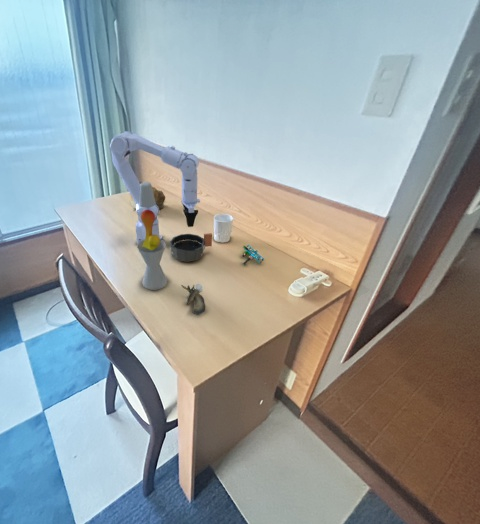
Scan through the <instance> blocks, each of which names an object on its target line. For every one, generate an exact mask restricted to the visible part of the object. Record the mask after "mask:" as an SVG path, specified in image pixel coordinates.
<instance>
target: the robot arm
mask: <svg viewBox="0 0 480 524" xmlns="http://www.w3.org/2000/svg"><path fill="white" fill-rule="evenodd" d="M108 148H109V150H110V151H111V160H112V165H113V166H114V168H115V170H116V172H117V173H118V175H119V177H120V178H121V180H122V182H123V184H124V186H125V188H126V189H127V191H128V193H130V194H131V196H132V198H133V200H134V201H135V203H136V209H135V212H136V214H137V219H138V221H136V224H135V234H136V235H135V236H136V245H138V243H139V242H141V241H143V240H145V238H146V229H145V226H144V224H143V222H142V220H141V214H142V212H143V211H145V210H151V211H152V212H153V213H154V214H155V220H154V223H153V227H152V234H153V235H157V236H158V237H159V239H161V240H162V239H163V236H162V235H160V225H159V218H158V216H159V214H160V209H159V208H158V206H157V205H155V206H152V207H147V208H146V207H141V206H139V198H140V183H139V181H140V180H139V179H138V177H137V175H136V174H135V172H134V170H133V167H132V166H131V164H130V162H129V159H130V157H131V156H130V155H131V152H134V151H138V150H141V151H143V152H145V153H149V154H151V155H153V156H156V157H159V158H160V160H161V161H162V163H163V164H166V165H168V166H171V167H174V168H176V169H177V170H180V172H181V205H182V206H183V209H182V212H183V214H184V216H185V219H186V224H187V227H188V228H193V227H194V226H195V220H196V218H197V216H198V214H199V209H195V207H196V206H197V204H199V203H201V200H200V198H198V167H199V164H200V162H199V161H200V160H199V158H198V156H196V155H195V154H194V153H188V152H187V151H184V152H183V151H181V150H179V149H176V146H174V145H171V146H170V145H168V146H166V147H163V146H161V145H159V144H157V143H156V142H153V141H150V140H149V139H147V138H145V137H143V136H141V135H140V134H138V133H135V132H132V131H129V130H125V131H123V132H122V133H120V134H116V135H114V136H113V137H112V138H111V140H110V144H109V147H108ZM130 194H129V195H130Z"/></svg>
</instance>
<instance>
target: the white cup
mask: <svg viewBox="0 0 480 524" xmlns="http://www.w3.org/2000/svg"><path fill="white" fill-rule="evenodd" d="M233 221H234V216H232V215H231V214H228V213H217V214H215V215H214V216H213V239H214V242H217V243H227V242H229V241H230V239H231V233H232V229H233V223H234V222H233Z"/></svg>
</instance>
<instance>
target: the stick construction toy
mask: <svg viewBox="0 0 480 524" xmlns="http://www.w3.org/2000/svg"><path fill="white" fill-rule="evenodd" d="M242 248H243V249H244V251H245V252H244V253H243V254H242V256H241V257H242V258H244V257H246V256H247V255H248V258H247V259H246V260H245V261H244V262H243V263H242V265H244V266H245V265H247V263H248V262H249V261H251V260H253V258H254V260H255V261H256V262H258V264H262V261H264V260H265V258H264V257H262V255H260V254H259V251H258V249H254V248H252V246H251V245H250V244H247V245H243V246H242ZM259 260H261V261H259Z"/></svg>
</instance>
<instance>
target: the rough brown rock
mask: <svg viewBox="0 0 480 524" xmlns="http://www.w3.org/2000/svg"><path fill="white" fill-rule="evenodd" d="M138 181H139V183H140V184H141V183H142V181H140V180H138ZM152 190H153V194H154V198H155V202H156V205H157V206H158V208H159V210H160V209H163V208H164V203H165V200H166V196H165V194H164V192H163V190H159V189H157V188H156V187H155V186H152ZM128 193H129V192H128ZM129 201H130V205H131V207H132V208H133V209H135V210H136V203H135V201H134V200H133V198H132V196H131V194H130V193H129Z"/></svg>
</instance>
